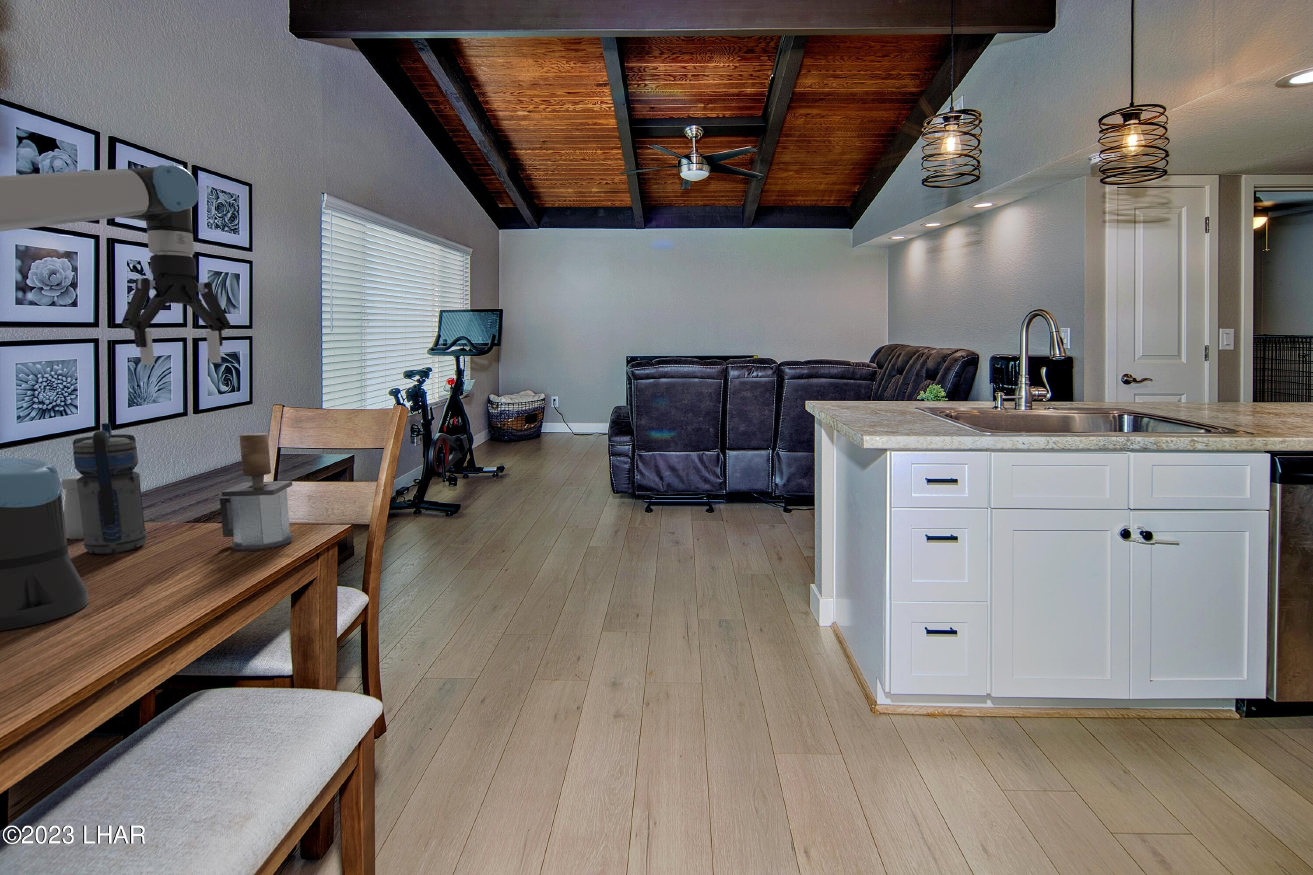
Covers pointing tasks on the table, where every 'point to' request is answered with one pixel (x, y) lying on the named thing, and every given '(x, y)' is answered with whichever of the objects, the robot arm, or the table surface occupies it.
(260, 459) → the plunger
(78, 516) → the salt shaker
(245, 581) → the table surface
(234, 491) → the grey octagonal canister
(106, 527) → the beverage bottle
